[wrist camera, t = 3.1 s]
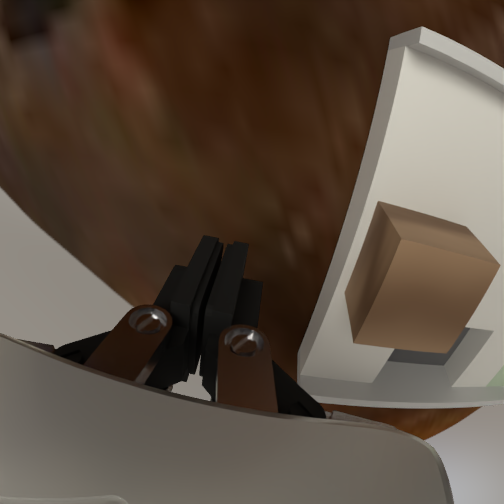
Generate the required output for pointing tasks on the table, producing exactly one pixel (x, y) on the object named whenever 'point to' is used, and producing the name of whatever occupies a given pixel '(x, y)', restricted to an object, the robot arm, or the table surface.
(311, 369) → the box
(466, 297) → the walnut block
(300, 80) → the table surface
